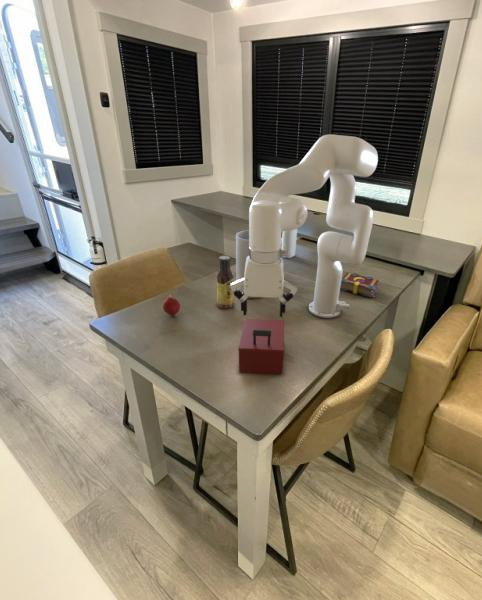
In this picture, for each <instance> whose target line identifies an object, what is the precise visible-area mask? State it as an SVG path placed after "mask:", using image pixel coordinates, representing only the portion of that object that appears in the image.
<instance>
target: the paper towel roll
mask: <svg viewBox="0 0 482 600" xmlns="http://www.w3.org/2000/svg"><path fill="white" fill-rule="evenodd" d="M297 237H298V228H297V229H294V230H288V231H282V234H281V238H282V242H281V250H283V251H286V256H281V258H284V259H291V258H293V257H295V256H296V252H297V251H296V250H297Z"/></svg>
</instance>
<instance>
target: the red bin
mask: <svg viewBox="0 0 482 600" xmlns="http://www.w3.org/2000/svg"><path fill="white" fill-rule="evenodd" d="M284 353H285V351H284V352H262V351H239V350H238V373H242V374H245V373H246V374H266V375H283V369H284V368H283V366H284Z"/></svg>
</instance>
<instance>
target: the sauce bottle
mask: <svg viewBox="0 0 482 600" xmlns="http://www.w3.org/2000/svg"><path fill="white" fill-rule="evenodd" d="M218 261H219V270H218V271H217V273H216V301H217V306H218V307H219V308H220V309H230V308H232V307H233V306H234V299H235V298H234V297H235V295H234V293H233V292H232V290H231V288H230V284H231V283H233V282H234V276H233V272H232V270H231V257H230V256H228V255H220V256H219V258H218Z"/></svg>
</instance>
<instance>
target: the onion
mask: <svg viewBox="0 0 482 600" xmlns="http://www.w3.org/2000/svg"><path fill="white" fill-rule="evenodd" d="M162 309H163V312H165V313H166V314H167V315H170V316H174V315H177V313H179V311H180V309H181V303H180V302H179V300H178V299H177V298H175V297H173V296H172V295H171V294H169V295H168V297H167V298H166V299H165V300H164V302H163V304H162Z"/></svg>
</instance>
